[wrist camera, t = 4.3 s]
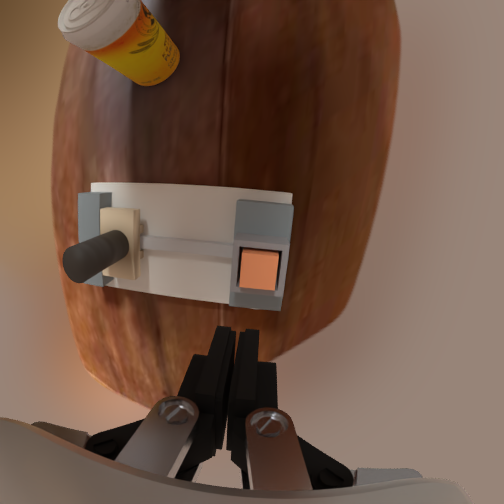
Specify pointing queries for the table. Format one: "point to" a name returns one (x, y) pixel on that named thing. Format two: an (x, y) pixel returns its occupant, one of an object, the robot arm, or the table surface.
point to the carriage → (108, 248)
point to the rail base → (196, 238)
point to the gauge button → (259, 268)
